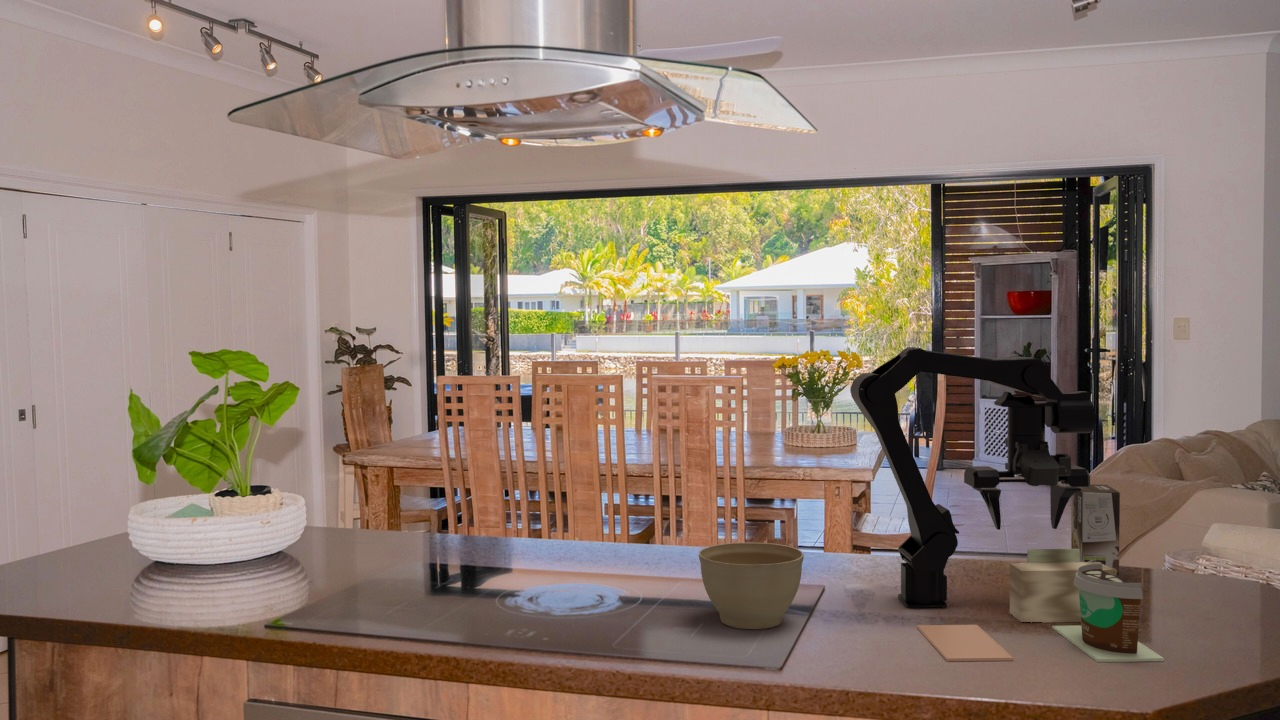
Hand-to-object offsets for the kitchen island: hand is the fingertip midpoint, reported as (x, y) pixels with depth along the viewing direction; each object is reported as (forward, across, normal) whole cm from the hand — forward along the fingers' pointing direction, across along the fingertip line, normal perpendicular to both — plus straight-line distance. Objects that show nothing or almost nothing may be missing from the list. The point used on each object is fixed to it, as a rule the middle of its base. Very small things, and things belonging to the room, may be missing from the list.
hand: (1026, 528), depth 166 cm
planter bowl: (+12, -46, -9) cm, 48 cm away
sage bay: (+12, +3, -22) cm, 25 cm away
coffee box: (+12, +18, +15) cm, 26 cm away
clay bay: (+12, -17, -21) cm, 30 cm away
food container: (+12, +2, -23) cm, 26 cm away
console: (+12, +2, -9) cm, 15 cm away
